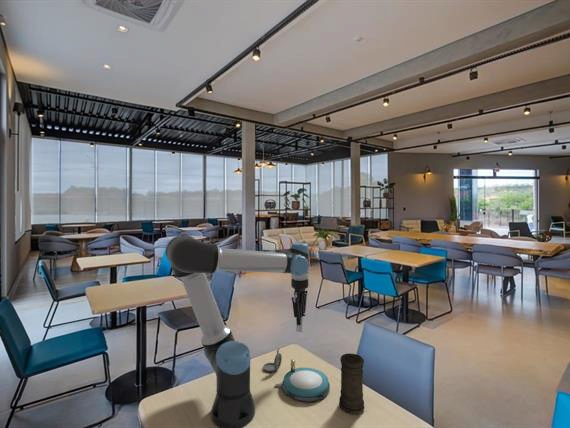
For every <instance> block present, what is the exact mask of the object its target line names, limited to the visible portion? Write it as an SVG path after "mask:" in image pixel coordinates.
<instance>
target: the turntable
mask: <svg viewBox="0 0 570 428" xmlns="http://www.w3.org/2000/svg"><path fill="white" fill-rule="evenodd" d="M283 380H284V387H285V389H286V390H287V391H288V392H290V393H291V394H293V395H296V396H300V397H315V396H319V395H321V394H323V393H324V392H325V391H326V390H327V389H328V382H329V379H328V376H327V375H326V374H325V373H324V372H323V371H321V370H318V369H315V368H313V367H298V368H297V367H296V360H295V359H291V360H290V370H288V371H287V372H286V373H285V374H284V376H283Z"/></svg>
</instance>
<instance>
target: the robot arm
mask: <svg viewBox="0 0 570 428" xmlns="http://www.w3.org/2000/svg"><path fill="white" fill-rule="evenodd" d="M309 255H310V252H309V245H308V243H305V242H294V243H292V244H291V247H290V248H282V249H271V250H268V251H260V250H252V249H251V250H248V249H237V248H235V249H234V248H224V247H220V246H219V245H218V244H213V243H208V242H207V243H206V242H203V241H200V240H198V239H196V238H194V237H193V236H192V235H188V234H180V235H176V236H174V237H172V238H171V239H170V240H169V241H168V242H167V245H166V247H165V257H166V259H167V260H168V261H169V263H170V266H171V269H172V271H173V274H174V276H175V278H176V279H178V280H181V282H182V285H183V287H184V289H185V292H186V294H187V298H188V299H189V303H190V305H191V308H192V310H193V313H194V315H195V318H196V320H197V323H198V326H199V328H200V331H201V333H202V337H201V339H200V341H201V345H202V348H203V352H204V356H205V357H206V359H207V361H208V362H209V364H210V366H211V367H212V370H213V371H214V373H215V375H216V377H215V378H216V394H215V396H214V397H215V398H214V400H213V404H212V407H211V420H212V423H213V424H214V425H215V426H217V427H220V428H242V427H244V426H246V425H247V424H249V423H250V422H251V421H252V420H253V419H254V417H255V414H256V403H255V401H254V398H253V395H252V392H251V358H252V357H251V352H250V348H249V347H248V346H247V345H246V344H245V343H243V342H239V341H236V340H235V338H234V335H233V333H232V330H231V327H230V326H229V325H226V324H225V323H224V320H223V317H222V315H221V311H220V309H219V307H218V303H217V300H216V298H215V296H214V293H213V290H212V287H211V285H210V283H209V280H208V278H207V277H208V276H207V274H216V272H217V271H225V272H226V271H230V272H249V273H252V272H253V273H275V274H277V273H278V274H279V273H280V274H290V277H291V280H290V281H291V284H290V285H291V288H292V289H294V291H293V296H292V297H291V302H292V310H293V317H294V318H296V319H295V321H296V323H295V324H296V325H295V326H296V327H295V328H296V332H298V333H303V332H304V317H306V310H307V309H306V307H307V297H308V290H306V289H308V288H309V279H308V278H309V274H310V271H309Z"/></svg>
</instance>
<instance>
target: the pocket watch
mask: <svg viewBox="0 0 570 428" xmlns="http://www.w3.org/2000/svg"><path fill="white" fill-rule="evenodd" d="M279 351H280V348H279V347H278V348H277V350H276V355H274V356H275V357H274V360H273V362H267V363H265V364H264V365H263V367H262V368H263V370H264V371H265V372H269V373H272V372H273V373H274V372H276V371H277V370H279V368H281V364H282V359H283V357H282V353H280V352H279Z"/></svg>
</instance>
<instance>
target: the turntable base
mask: <svg viewBox="0 0 570 428" xmlns="http://www.w3.org/2000/svg"><path fill="white" fill-rule="evenodd" d="M275 387H279V388H280V387H281V388H282V393H284V395H285V396H286V397H287V398H289V399H290V400H292V401H295V402H298V403H301V404H302V403H305V404H309V403H311V404H313V403H317V402H321V401H323V400H324V399H325V398H327V397H328V396H329V394H330V390H331V388H330V387H331V386H330V381H328V389H327V390H326V391H325V392H324V393H323V394H321V395H319V396H315V397H300V396H296V395H293V394H291V393H290V392H288V391H287V390H286V389H285V387H284V379H283V380H282V382H279V381H278V382H277V381H276V382H275Z"/></svg>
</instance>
